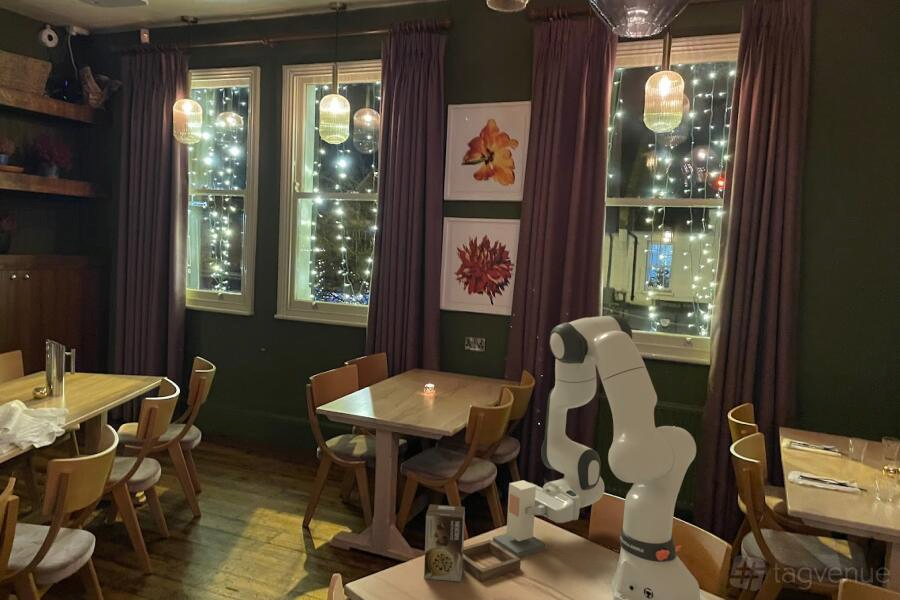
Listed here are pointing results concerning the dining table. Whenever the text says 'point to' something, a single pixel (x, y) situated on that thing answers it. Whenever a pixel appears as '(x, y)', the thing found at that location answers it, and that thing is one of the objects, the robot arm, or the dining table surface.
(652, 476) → the robot arm
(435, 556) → the coffee box
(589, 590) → the dining table surface
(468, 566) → the walnut crate
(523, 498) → the off-white box
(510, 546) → the blue-grey square slab
